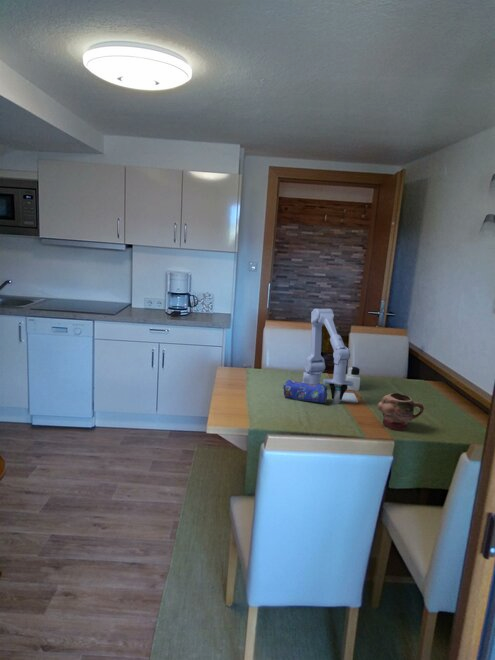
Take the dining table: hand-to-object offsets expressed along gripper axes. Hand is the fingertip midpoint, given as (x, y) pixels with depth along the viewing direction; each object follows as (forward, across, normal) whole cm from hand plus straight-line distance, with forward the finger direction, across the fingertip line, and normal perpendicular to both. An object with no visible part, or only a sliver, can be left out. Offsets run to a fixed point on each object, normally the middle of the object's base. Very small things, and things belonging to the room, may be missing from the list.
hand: (336, 398), depth 217 cm
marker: (+2, 0, 0) cm, 2 cm away
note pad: (+2, +7, +10) cm, 12 cm away
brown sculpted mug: (+2, +24, -23) cm, 33 cm away
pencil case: (+3, -16, +1) cm, 16 cm away
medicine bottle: (+2, +12, +25) cm, 28 cm away
